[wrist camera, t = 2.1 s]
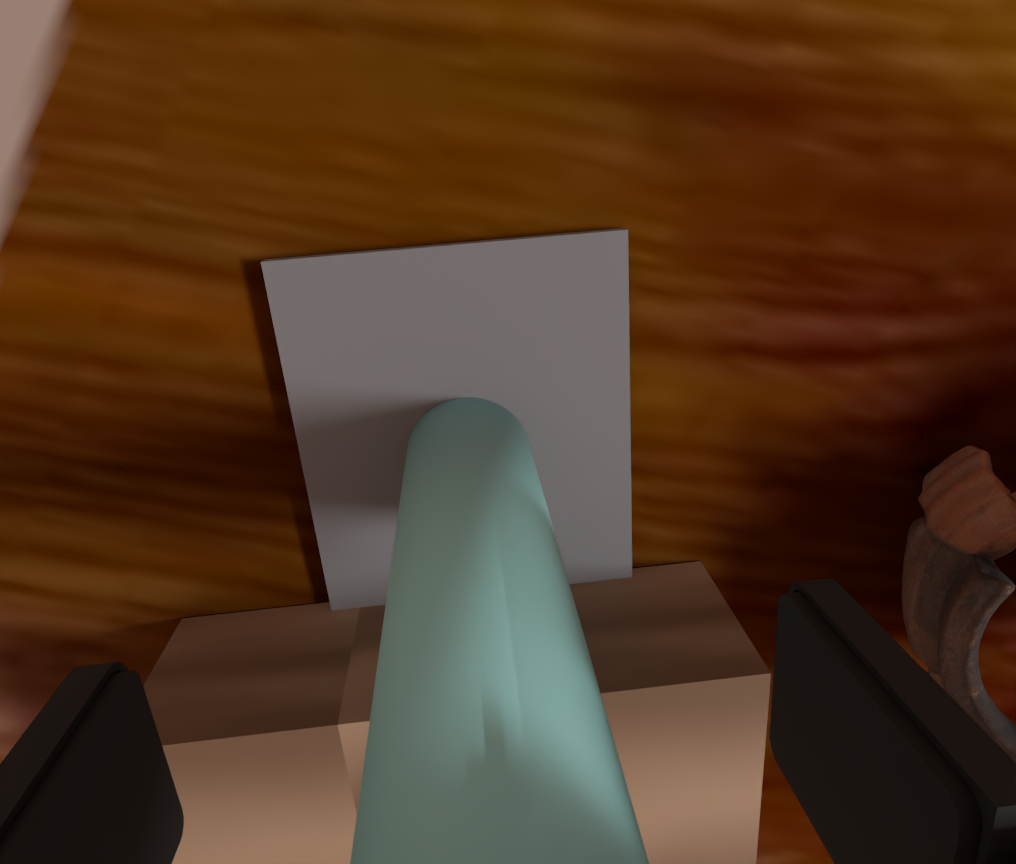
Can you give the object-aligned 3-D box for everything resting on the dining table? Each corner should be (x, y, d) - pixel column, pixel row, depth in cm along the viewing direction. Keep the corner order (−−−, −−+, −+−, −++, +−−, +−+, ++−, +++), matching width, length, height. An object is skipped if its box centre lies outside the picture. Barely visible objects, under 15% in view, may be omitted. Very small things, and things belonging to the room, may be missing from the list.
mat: (265, 259, 15) (260, 261, 15) (623, 228, 16) (627, 229, 15) (339, 632, 19) (337, 641, 19) (629, 599, 20) (632, 608, 19)
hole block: (181, 618, 19) (105, 752, 14) (700, 560, 19) (771, 673, 15) (284, 960, 24) (249, 1132, 20) (690, 906, 24) (740, 1060, 20)
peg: (398, 403, 16) (298, 920, 5) (525, 391, 17) (685, 868, 5) (414, 516, 18) (359, 1136, 6) (533, 504, 18) (680, 1090, 7)
